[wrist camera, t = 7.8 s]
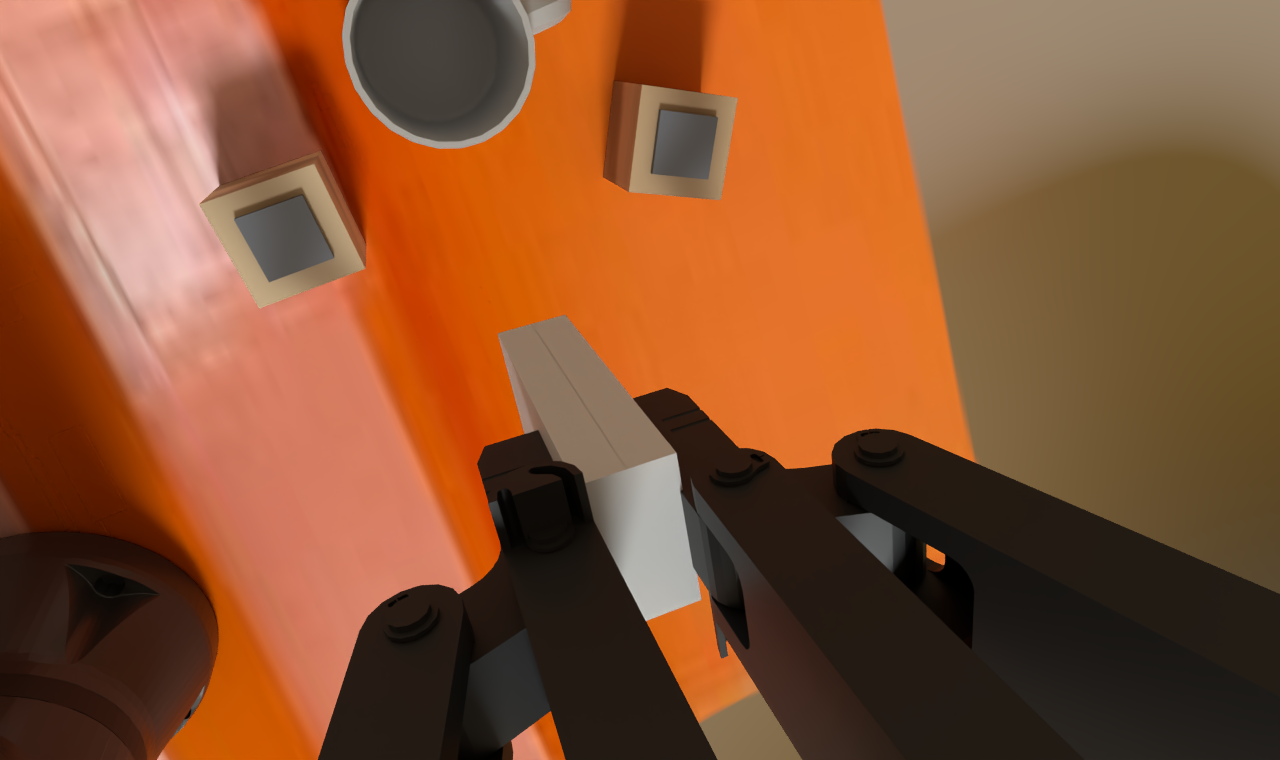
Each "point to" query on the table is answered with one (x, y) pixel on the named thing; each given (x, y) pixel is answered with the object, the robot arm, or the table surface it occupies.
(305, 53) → the table surface
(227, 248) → the oak block
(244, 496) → the table surface
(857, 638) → the robot arm
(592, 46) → the table surface
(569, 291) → the table surface
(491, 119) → the cup
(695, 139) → the oak block
